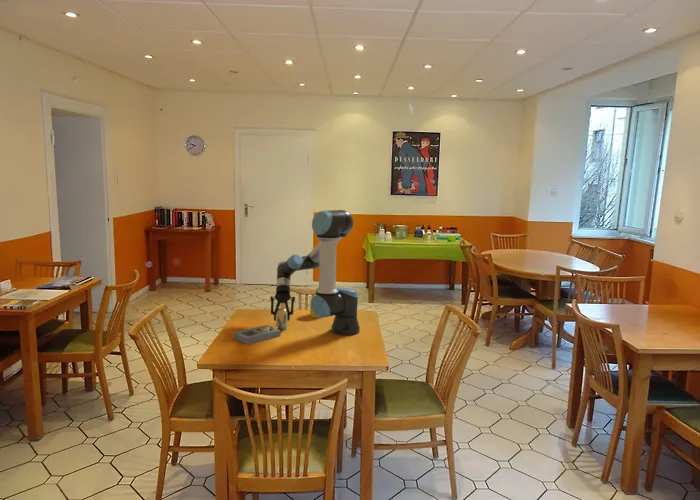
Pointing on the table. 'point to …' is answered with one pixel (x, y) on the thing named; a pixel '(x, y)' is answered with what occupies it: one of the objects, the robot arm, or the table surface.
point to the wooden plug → (264, 328)
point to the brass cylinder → (281, 319)
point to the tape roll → (313, 312)
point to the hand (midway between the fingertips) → (281, 325)
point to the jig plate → (255, 335)
